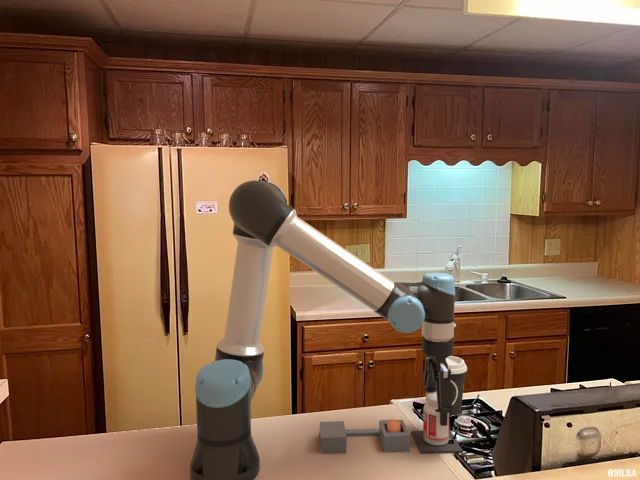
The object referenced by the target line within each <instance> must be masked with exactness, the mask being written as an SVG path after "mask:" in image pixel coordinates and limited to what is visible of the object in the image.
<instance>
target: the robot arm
mask: <svg viewBox="0 0 640 480" xmlns="http://www.w3.org/2000/svg"><path fill="white" fill-rule="evenodd" d="M228 212H229V215H230V218H231V220H232V221H233V230H232V236H233V237H234V239H236V241H237V246H236V254H235V261H234V267H233V268H234V269H233V274H232V281H231V288H230V295H229V301H228V302H229V303H228V308H227V309H228V310H227V316H226V317H227V318H226V324H225V332H224V337H223V338H222V339H219V341H218V342H217V343H216V350H215V356H214V361H212V362H211V363H207V364H205V365H204V366H203V367H201V369H199V370H198V372H197V374H196V378H195V384H194V393H195V403H196V404H195V405H196V408H195V409H196V430H197V434H196V435H197V437H196V438H197V440H196V443H195V446H194V447H195V448H194V450H193V454H192V458H191V460H190V465H189V473H190V474H189V477H190V480H254V479H255V478H256V477H257V476H258V474H259V472H260V468H261V467H260V466H261V465H260V459H261V458H260V454H259V452H258V449H257V446H256V444H255V441H254V439H253V436H252V428H251V427H252V417H251V416H252V414H251V413H252V409H251V408H252V407H251V406H252V401H253V399H254V396H255V393H256V391H257V389H258V387H259V386H260V383H261V381H262V379H263V374H264V363H263V362H264V361H263V360H264V354H265V347H264V346H263V344H262V343H261V342H260V338H261V333H262V326H263V319H264V313H265V312H264V311H265V304H266V300H267V299H266V298H267V291H268V284H269V279H270V278H269V277H270V271H271V265H272V259H273V253H274V247H278V248H280V249H281V250H282V251H284V252H286V253H287V254H289V255H290V256H292V257H293V258H294V259H296V260H297V261H299V262H300V263H302V264H304V266H306V267H308V268H309V269H311V270H313V272H316V273H317V274H319V275H320V276H322V277H323V278H324V279H326V280H327V281H329V282H330V283H332V284H333V285H335V286H336V287H338V288H340V289H341V290H342V291H344V292H346V293H347V294H348V295H349V296H352V297H353V298H355V299H356V300H357V301H358V302H360V303H361V304H363V305H364V306H366V307H368V308H369V309H371V310H372V311H373V312H374V313H375V314H377V315H379V316H380V317H382V318H383V319H385V320H386V321H387V322H388V323H389V324H390V325H391V327H392V328H394V329H395V330H396V331H397V332H399V333H404V334H410V333H413V332H416V331H418V330H419V329H420V328H421V335H422V337H421V352H422V354H424V357H425V359H424V360H425V361H424V372H423V383H422V384H423V387H424V390H425V404H426V403H427V401H426V400H427V395H428V394H431V393H436V395H437V404H438V409H435V412H436V437H437V438H446V437H448V427H449V428H450V418H449V413H452V396H451V369H448V364H447V362H446V358H447V357H449V356H453V355H454V353H455V351H454V350H455V348H454V347H455V340H454V339H453V338H454V337H455V328H456V327H457V324H456V323H455V305H456V304H455V303H456V301H455V300H456V288H455V287H456V286H455V278H454V277H453V275H452V274H450V273H444V272H426V273H424V274H423V275H422V279H421V281H418V282H417V281H416V282H413V281H412V282H407V281H406V282H405V281H404V282H401V281H400V282H398V281H397V282H395V281H392V280H391V279H390V278H388V277H386V276H385V275H384V274H382V273H381V272H379V271H378V270H376V269H375V268H374V267H372V266H370V265H369V264H368V263H366V262H364V261H363V260H361V259H360V257H357V256H355V254H353V253H352V252H350V251H348V250H347V249H345V248H344V247H342V246H341V245H339V244H338V243H337V242H336V241H334V240H332V239H331V238H330V237H328V236H326V235H325V234H323V233H322V232H320V231H319V230H317V229H316V228H315V227H313V226H312V225H310V224H309V223H307V222H306V221H304V220H303V219H302V218H300V217H298V215H297V211H296V209H295V208H294V207H292V206H291V205H289V204H288V200H287V197H286V195H285V193H284V191H283V190H282V189H281V188H280V187H279V186H277V185H276V184H275V183H273V182H269V181H264V180H253V179H252V180H248V181H244V182H243V183H241V184H239V185H238V186H237V187H235V188H234V190H233V191H232V193H231V195H230V197H229V202H228ZM438 377H439V378H438ZM435 391H436V392H435Z"/></svg>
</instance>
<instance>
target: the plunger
mask: <svg viewBox="0 0 640 480" xmlns="http://www.w3.org/2000/svg"><path fill="white" fill-rule="evenodd" d="M399 420H400V419H394V418H392V419H388V421H387V432H400V429H401V422H400V421H399Z"/></svg>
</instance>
